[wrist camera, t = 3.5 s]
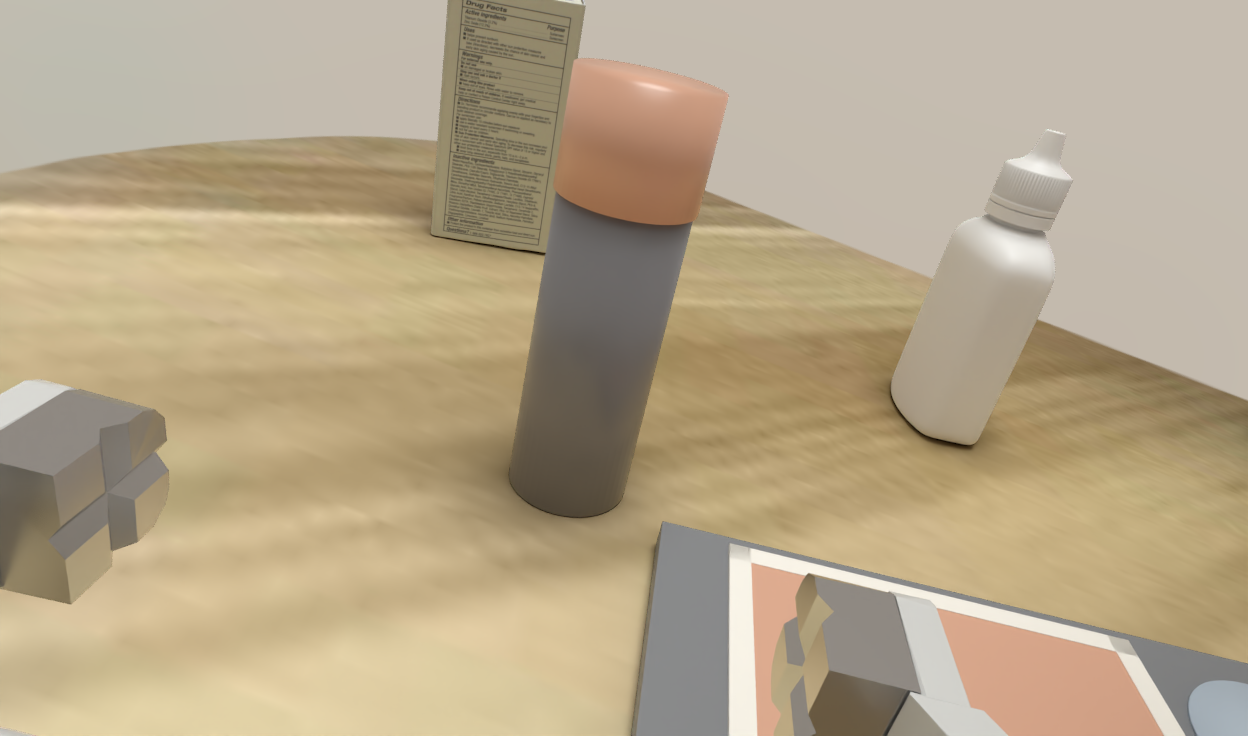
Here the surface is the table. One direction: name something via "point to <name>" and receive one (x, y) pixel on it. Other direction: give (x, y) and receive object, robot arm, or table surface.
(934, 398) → the eye dropper bottle
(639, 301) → the terracotta marker
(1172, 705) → the picture board
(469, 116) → the skincare box
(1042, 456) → the table surface
